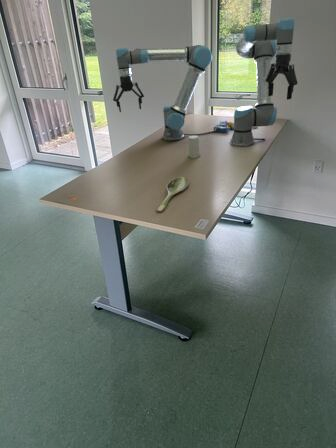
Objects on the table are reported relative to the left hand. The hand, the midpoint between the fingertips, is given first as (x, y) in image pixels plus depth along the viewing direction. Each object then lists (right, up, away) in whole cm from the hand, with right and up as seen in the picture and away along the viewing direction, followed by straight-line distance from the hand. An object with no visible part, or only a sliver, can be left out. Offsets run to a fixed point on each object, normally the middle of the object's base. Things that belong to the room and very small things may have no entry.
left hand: (130, 110), depth 222 cm
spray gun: (+69, -3, +35) cm, 78 cm away
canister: (+42, -33, -10) cm, 54 cm away
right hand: (+86, -7, -42) cm, 95 cm away
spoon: (+27, -61, -55) cm, 87 cm away
